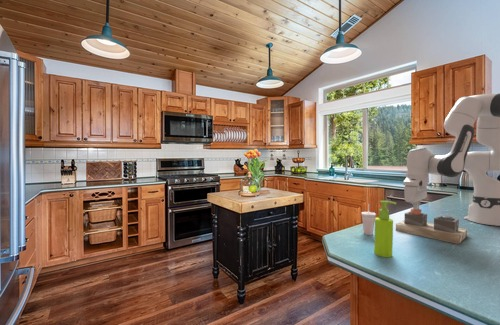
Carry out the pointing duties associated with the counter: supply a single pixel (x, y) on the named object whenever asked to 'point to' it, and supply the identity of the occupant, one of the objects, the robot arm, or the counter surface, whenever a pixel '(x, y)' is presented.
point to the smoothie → (368, 221)
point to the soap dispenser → (384, 232)
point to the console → (432, 228)
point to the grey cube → (446, 218)
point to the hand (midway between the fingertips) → (416, 209)
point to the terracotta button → (416, 211)
